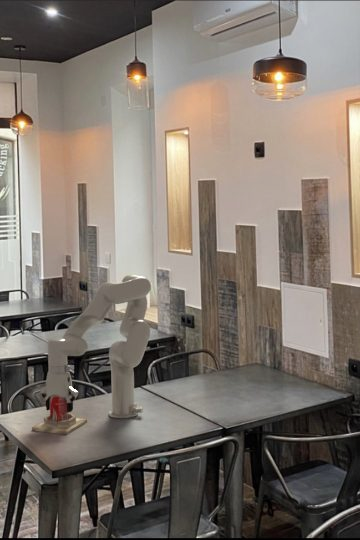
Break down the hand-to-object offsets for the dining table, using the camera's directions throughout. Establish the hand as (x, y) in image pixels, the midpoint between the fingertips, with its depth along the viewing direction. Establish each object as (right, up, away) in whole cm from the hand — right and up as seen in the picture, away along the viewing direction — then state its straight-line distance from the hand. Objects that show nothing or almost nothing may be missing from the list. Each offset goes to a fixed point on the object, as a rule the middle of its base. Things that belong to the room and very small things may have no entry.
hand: (59, 410), depth 266 cm
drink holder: (0, -7, +1) cm, 6 cm away
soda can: (0, -6, +1) cm, 6 cm away
